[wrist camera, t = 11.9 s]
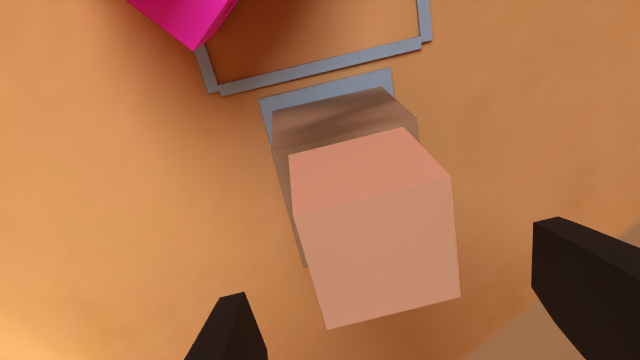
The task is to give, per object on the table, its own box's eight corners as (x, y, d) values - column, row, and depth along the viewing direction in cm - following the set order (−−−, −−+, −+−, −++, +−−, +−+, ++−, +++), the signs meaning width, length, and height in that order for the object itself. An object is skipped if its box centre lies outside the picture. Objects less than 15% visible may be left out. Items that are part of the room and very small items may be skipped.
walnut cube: (381, 86, 18) (417, 118, 13) (394, 183, 20) (428, 239, 15) (272, 110, 18) (271, 151, 13) (297, 205, 20) (303, 267, 15)
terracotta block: (416, 224, 15) (460, 297, 12) (314, 249, 15) (326, 329, 12) (403, 126, 13) (450, 176, 10) (288, 155, 13) (292, 215, 10)
